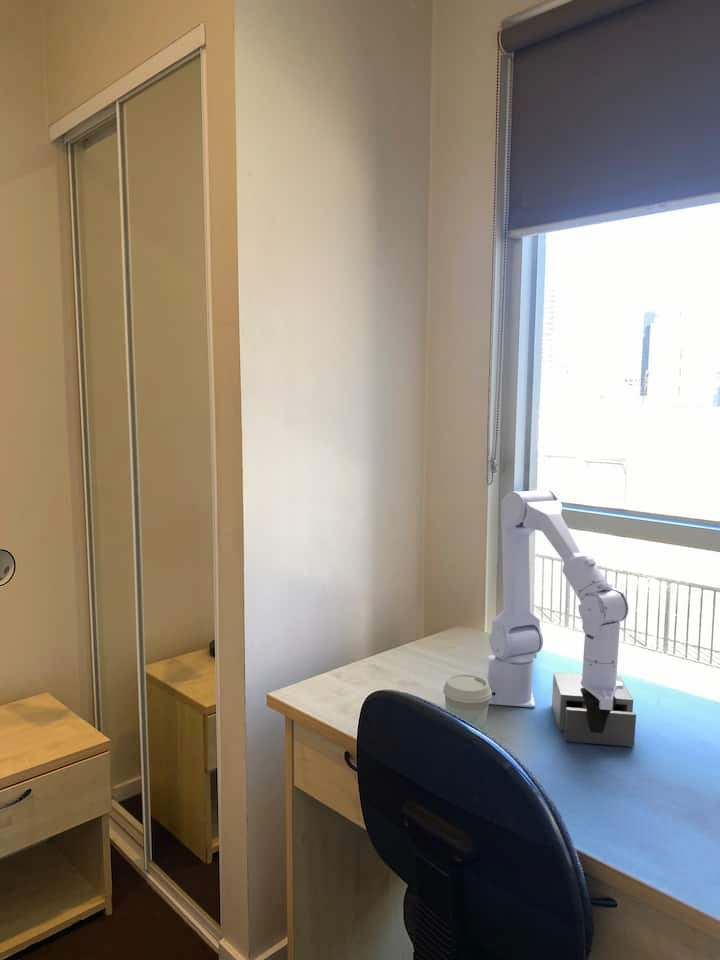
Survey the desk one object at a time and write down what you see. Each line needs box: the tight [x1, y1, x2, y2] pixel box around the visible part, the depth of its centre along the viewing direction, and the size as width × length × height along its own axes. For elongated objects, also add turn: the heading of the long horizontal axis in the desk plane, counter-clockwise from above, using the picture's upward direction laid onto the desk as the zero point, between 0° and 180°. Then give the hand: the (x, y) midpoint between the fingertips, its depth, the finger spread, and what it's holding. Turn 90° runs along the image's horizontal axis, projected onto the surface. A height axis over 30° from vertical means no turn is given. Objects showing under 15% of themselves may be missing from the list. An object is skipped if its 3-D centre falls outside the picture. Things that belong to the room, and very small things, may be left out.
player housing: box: [551, 671, 634, 732], centre depth 139 cm, size 13×11×7 cm
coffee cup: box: [442, 673, 492, 733], centre depth 128 cm, size 8×8×12 cm
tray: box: [564, 706, 637, 748], centre depth 135 cm, size 12×11×6 cm
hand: (596, 731), depth 128 cm, fingers closed
